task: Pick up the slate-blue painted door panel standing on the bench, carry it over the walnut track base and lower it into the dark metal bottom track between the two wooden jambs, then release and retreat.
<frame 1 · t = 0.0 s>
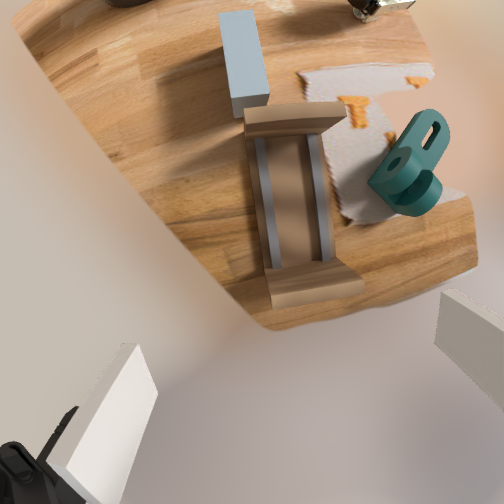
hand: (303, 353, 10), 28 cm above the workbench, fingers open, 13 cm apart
bracket: (411, 155, 36), on the workbench
door panel: (242, 78, 33), on the workbench
track: (292, 199, 37), on the workbench
pneumatic valve: (366, 17, 30), on the workbench
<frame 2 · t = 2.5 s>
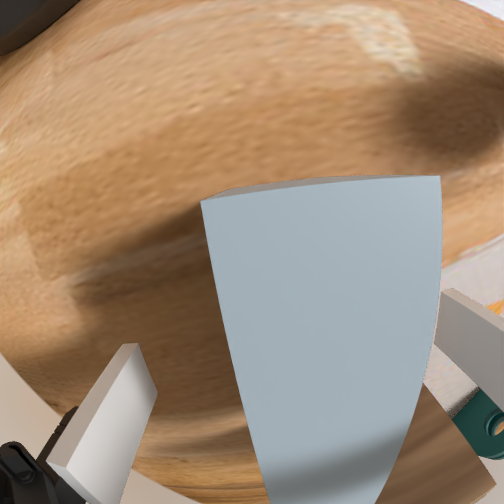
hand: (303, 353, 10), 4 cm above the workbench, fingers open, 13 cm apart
door panel: (288, 303, 14), on the workbench
track: (346, 467, 18), on the workbench
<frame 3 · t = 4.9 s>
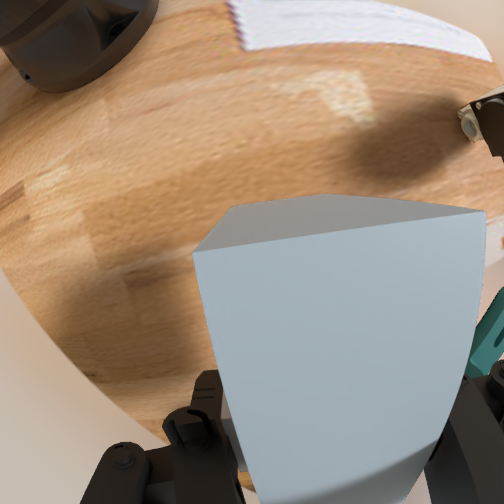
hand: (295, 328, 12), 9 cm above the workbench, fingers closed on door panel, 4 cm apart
bracket: (477, 346, 24), on the workbench
door panel: (294, 327, 13), point 8 cm above the workbench, touching gripper
pneumatic valve: (471, 126, 19), on the workbench
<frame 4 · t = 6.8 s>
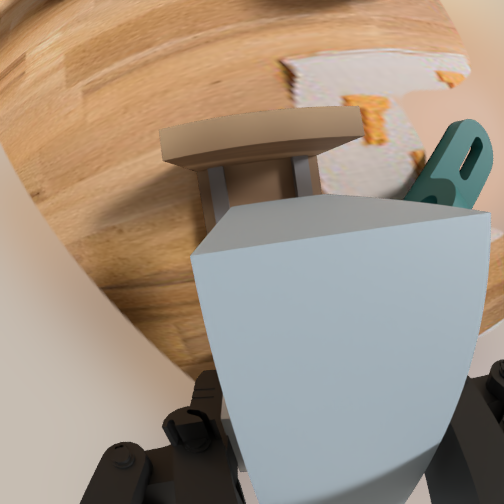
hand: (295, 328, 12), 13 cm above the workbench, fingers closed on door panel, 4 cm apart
bracket: (443, 185, 24), on the workbench
door panel: (294, 328, 13), point 13 cm above the workbench, touching gripper
track: (270, 258, 25), on the workbench
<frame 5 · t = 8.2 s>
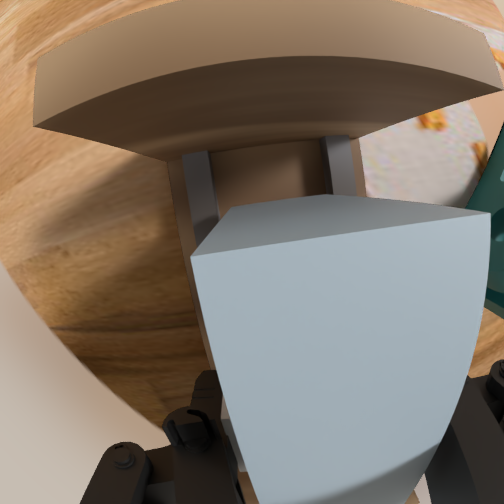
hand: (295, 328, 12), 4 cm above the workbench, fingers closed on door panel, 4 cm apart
bracket: (503, 190, 15), on the workbench
door panel: (294, 329, 13), point 3 cm above the workbench, touching gripper
track: (284, 297, 16), on the workbench
when the fingers open (3 cm above the workbench, at t = 9.1 s): door panel drops 1 cm, resting on track.
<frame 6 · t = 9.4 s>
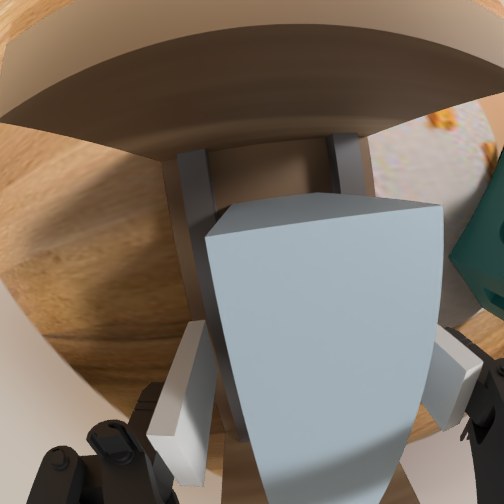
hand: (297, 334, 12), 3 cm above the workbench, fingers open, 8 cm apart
door panel: (290, 316, 14), point 1 cm above the workbench, touching track
track: (287, 306, 15), on the workbench
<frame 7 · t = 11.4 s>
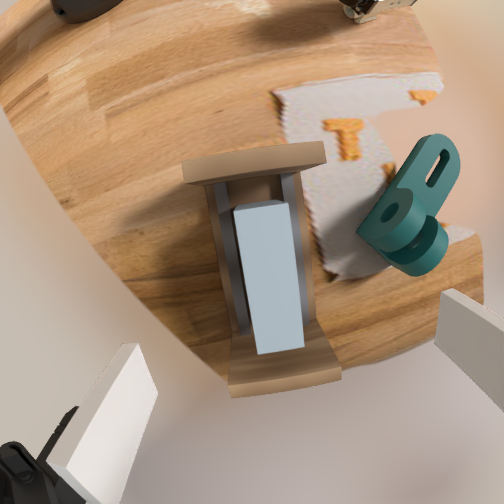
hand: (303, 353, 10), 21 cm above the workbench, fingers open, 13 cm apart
bracket: (412, 192, 30), on the workbench
door panel: (264, 258, 30), point 1 cm above the workbench, touching track
track: (263, 254, 31), on the workbench
pneumatic valve: (360, 16, 25), on the workbench
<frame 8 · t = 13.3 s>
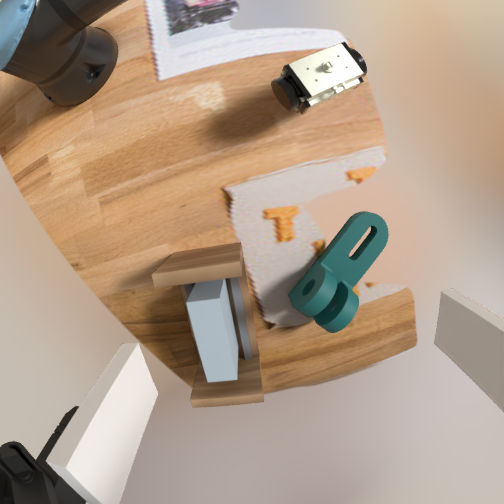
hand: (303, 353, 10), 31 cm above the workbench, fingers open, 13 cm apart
bracket: (340, 261, 42), on the workbench
door panel: (218, 313, 42), point 1 cm above the workbench, touching track
track: (219, 310, 43), on the workbench
pneumatic valve: (308, 98, 36), on the workbench
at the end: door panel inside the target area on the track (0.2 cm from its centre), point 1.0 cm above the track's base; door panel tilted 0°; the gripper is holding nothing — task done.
